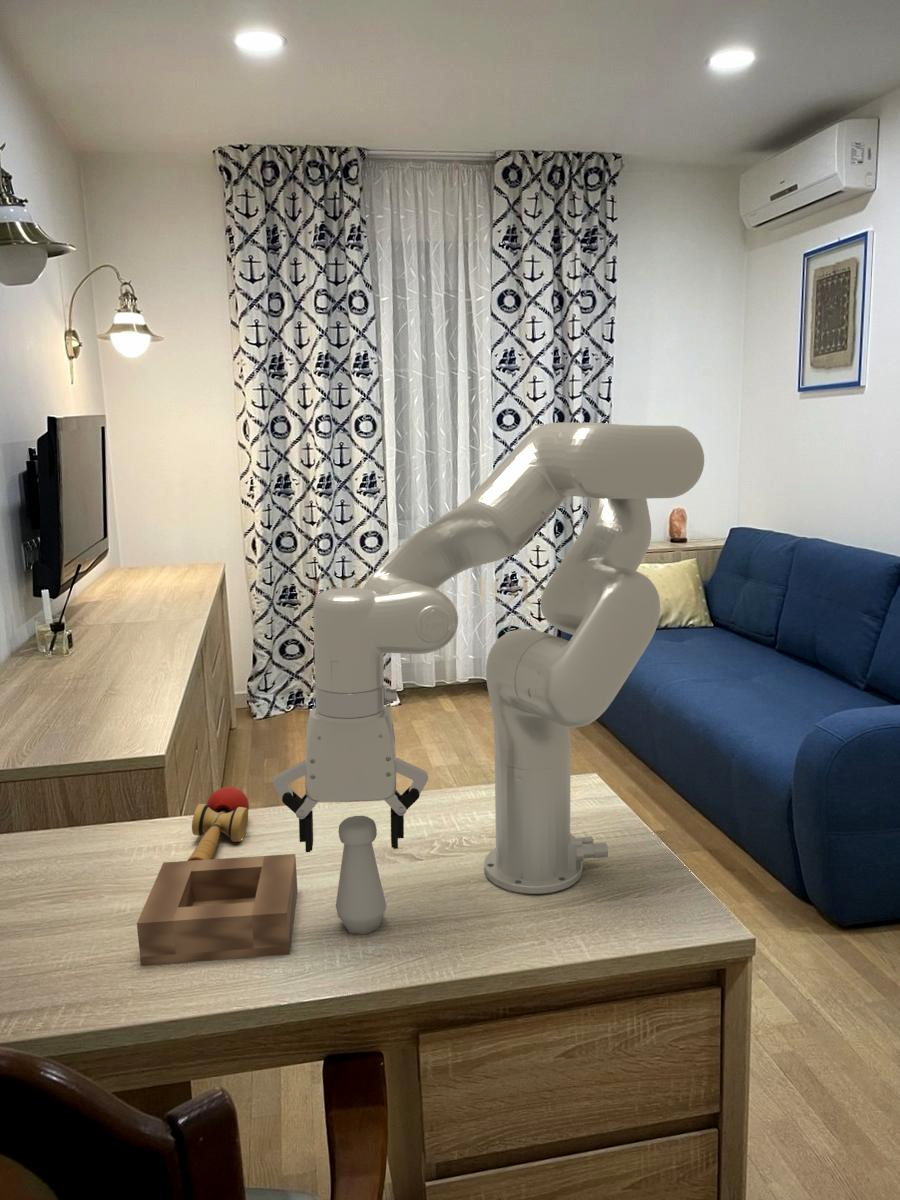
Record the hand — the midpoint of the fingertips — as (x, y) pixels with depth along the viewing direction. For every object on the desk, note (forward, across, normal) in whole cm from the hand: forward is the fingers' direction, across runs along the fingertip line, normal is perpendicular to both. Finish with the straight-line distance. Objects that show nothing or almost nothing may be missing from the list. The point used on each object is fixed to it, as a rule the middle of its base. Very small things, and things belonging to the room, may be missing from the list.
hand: (352, 845), depth 106 cm
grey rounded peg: (+10, -1, 0) cm, 10 cm away
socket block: (+11, +15, -2) cm, 19 cm away
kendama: (+11, +19, -24) cm, 32 cm away
